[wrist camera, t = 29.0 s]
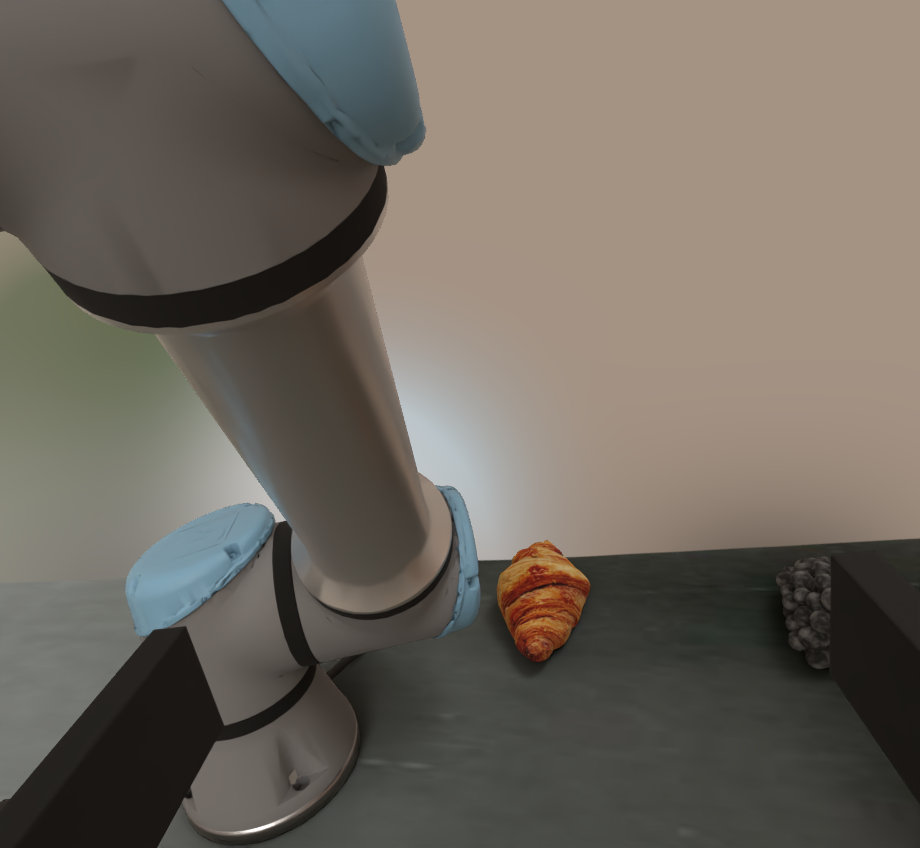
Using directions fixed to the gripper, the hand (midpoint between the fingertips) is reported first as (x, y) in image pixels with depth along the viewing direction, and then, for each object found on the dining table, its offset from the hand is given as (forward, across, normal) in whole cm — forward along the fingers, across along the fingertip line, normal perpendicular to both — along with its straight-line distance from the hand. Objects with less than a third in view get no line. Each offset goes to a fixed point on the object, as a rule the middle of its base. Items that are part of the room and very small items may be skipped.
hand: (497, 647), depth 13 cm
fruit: (+40, +25, -34) cm, 58 cm away
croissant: (+48, -1, -34) cm, 59 cm away
